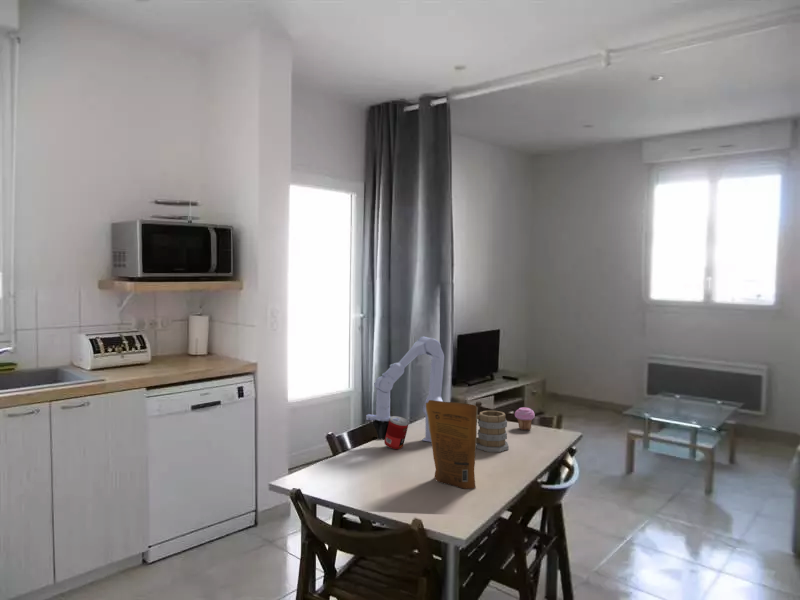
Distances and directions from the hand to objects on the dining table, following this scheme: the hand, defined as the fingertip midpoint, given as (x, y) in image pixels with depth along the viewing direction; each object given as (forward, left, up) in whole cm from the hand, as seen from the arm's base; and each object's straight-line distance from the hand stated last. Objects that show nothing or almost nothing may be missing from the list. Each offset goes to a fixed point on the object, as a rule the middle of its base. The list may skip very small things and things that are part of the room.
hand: (382, 439), depth 228 cm
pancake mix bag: (-41, +28, -3) cm, 49 cm away
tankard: (-38, -16, -3) cm, 41 cm away
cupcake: (-47, -51, -3) cm, 70 cm away
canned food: (-5, 0, -2) cm, 5 cm away
